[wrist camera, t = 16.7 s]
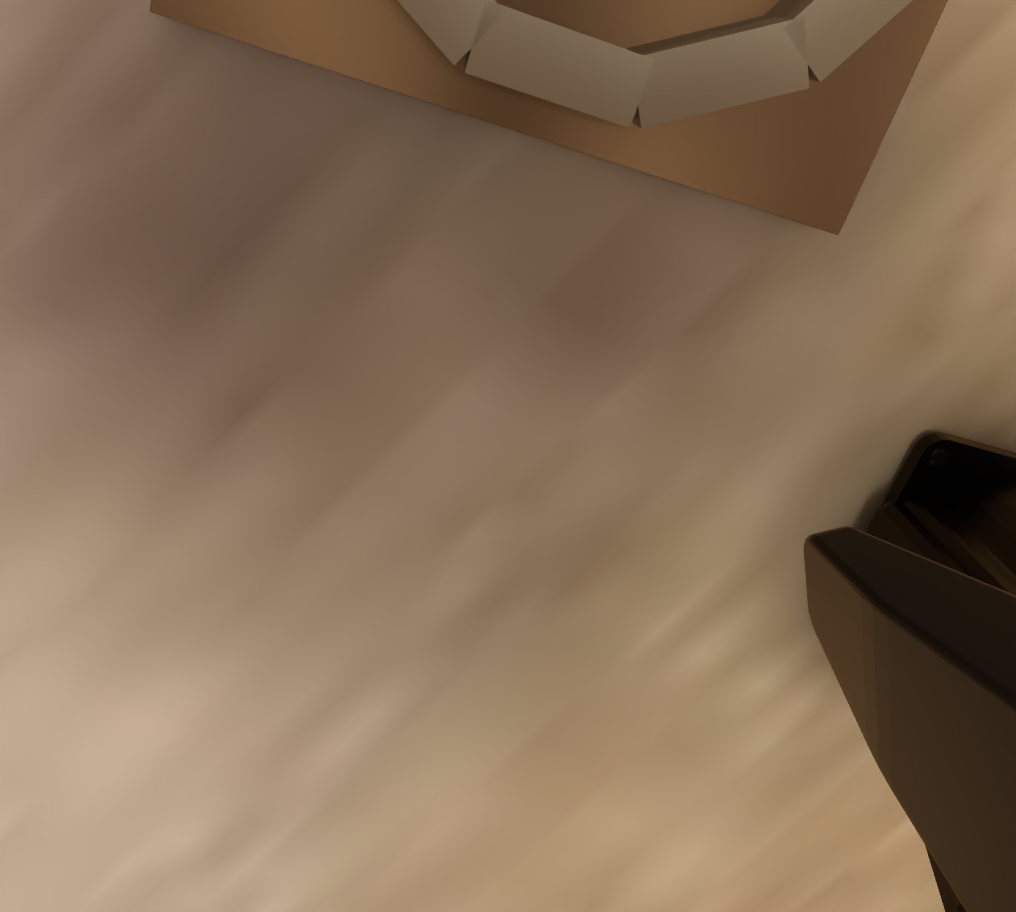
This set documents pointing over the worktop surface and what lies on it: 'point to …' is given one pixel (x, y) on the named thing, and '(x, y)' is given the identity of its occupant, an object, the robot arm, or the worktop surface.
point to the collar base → (684, 151)
